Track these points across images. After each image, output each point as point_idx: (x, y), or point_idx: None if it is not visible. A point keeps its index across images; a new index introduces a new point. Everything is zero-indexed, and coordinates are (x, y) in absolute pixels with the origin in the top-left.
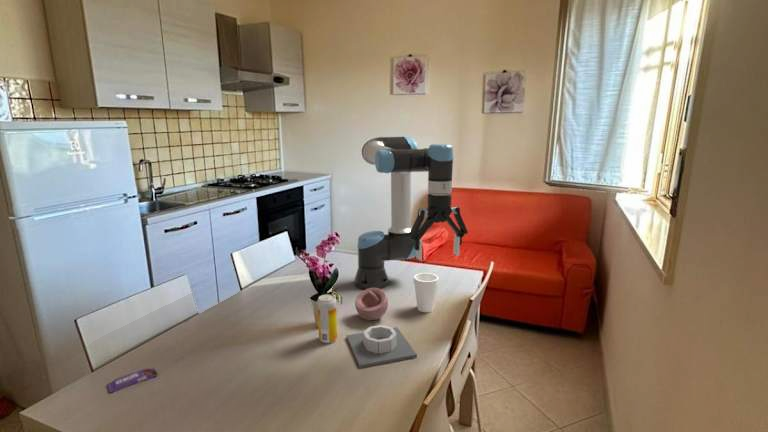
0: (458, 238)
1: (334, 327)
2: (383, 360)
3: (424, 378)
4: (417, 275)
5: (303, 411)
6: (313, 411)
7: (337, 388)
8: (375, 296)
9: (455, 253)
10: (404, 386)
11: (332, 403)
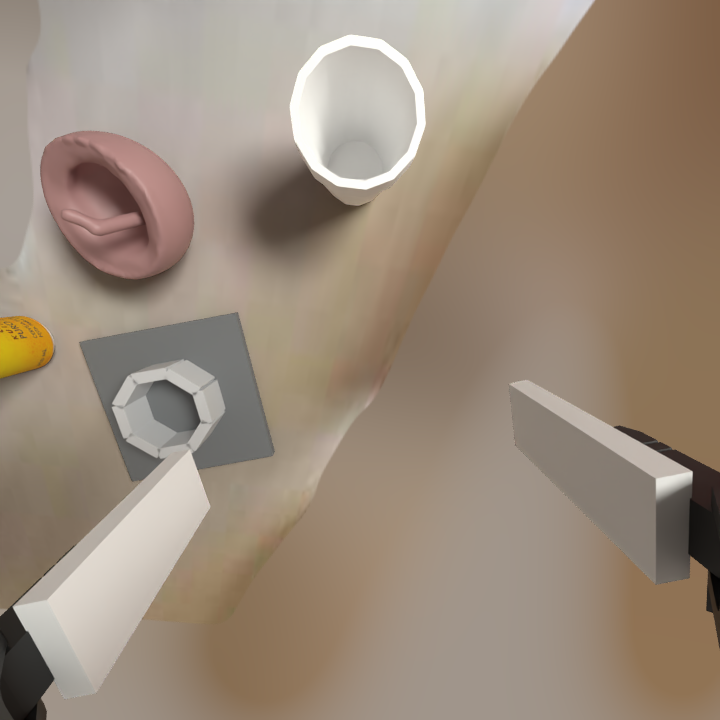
0: (647, 564)
1: (11, 371)
2: None
3: (279, 522)
4: (317, 68)
5: None
6: None
7: None
8: (110, 231)
9: (518, 425)
10: (234, 541)
11: None
